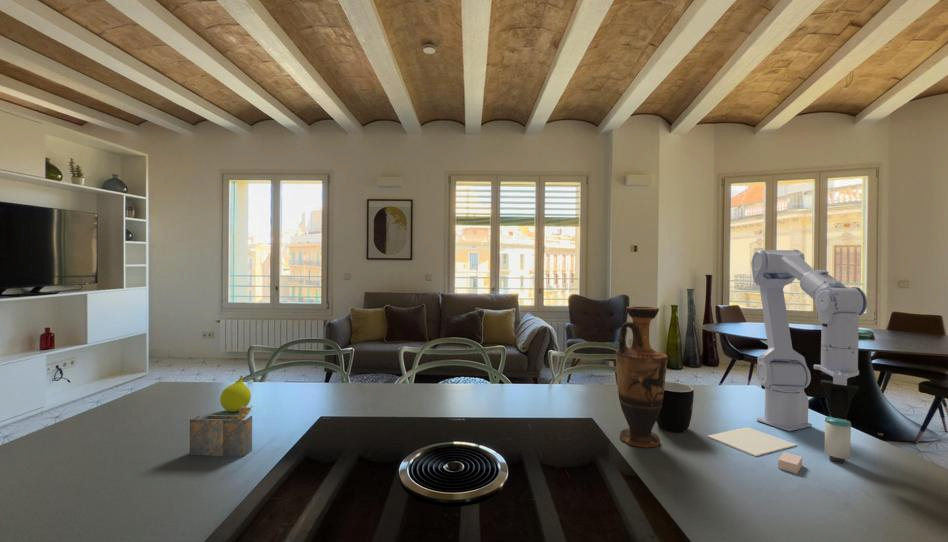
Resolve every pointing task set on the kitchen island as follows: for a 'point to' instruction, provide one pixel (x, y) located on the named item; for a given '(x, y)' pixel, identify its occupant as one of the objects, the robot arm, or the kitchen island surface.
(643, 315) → the vase
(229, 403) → the yellow rounded piece
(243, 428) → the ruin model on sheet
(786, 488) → the kitchen island surface
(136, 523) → the kitchen island surface
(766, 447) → the paper
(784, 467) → the eraser
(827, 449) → the white and green cylinder
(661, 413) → the mug
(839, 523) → the kitchen island surface
